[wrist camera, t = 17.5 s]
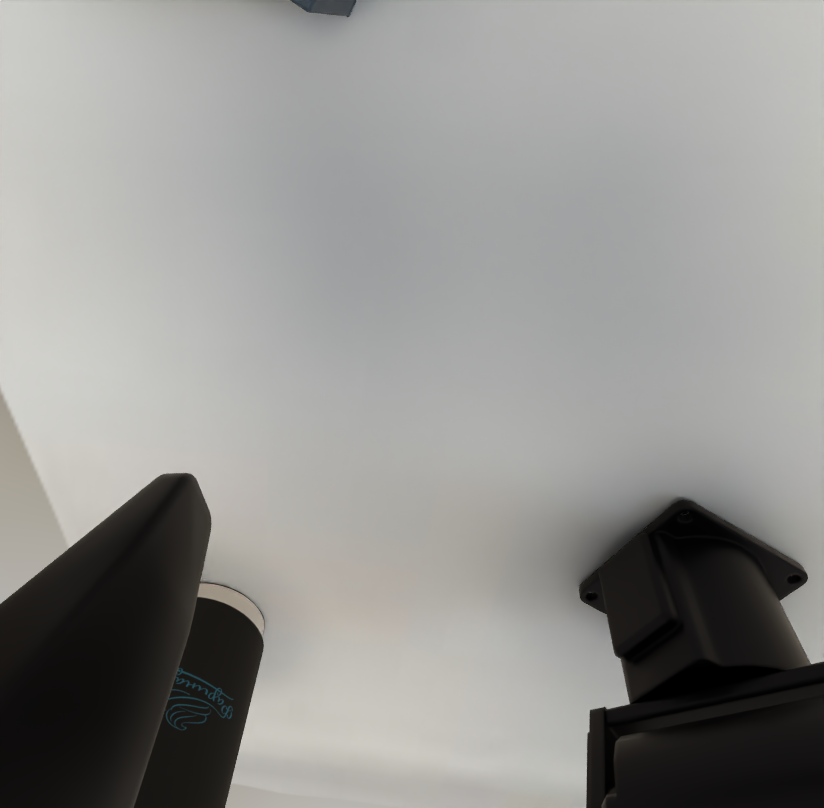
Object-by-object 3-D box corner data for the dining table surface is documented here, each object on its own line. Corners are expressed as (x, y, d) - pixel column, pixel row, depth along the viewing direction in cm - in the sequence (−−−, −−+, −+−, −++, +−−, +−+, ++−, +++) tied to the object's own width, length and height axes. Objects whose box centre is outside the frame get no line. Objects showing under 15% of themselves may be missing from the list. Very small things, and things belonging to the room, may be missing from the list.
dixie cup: (282, 564, 28) (177, 832, 18) (305, 672, 32) (228, 936, 23) (120, 555, 29) (-59, 806, 19) (162, 661, 33) (32, 910, 24)
